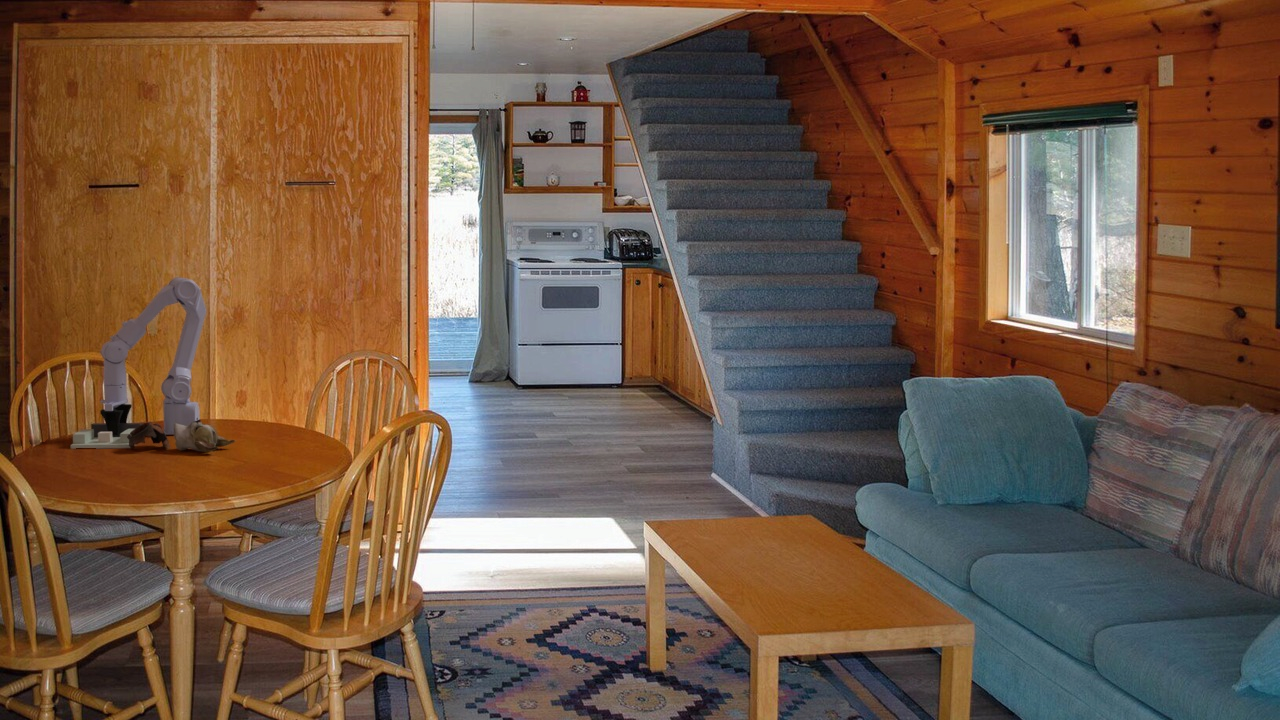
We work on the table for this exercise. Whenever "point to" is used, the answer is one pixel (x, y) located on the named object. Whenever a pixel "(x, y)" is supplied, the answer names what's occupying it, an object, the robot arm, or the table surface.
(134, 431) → the dark brown legged piece
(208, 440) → the ceramic sculpture
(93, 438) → the stand
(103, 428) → the dark gray rectangular block
